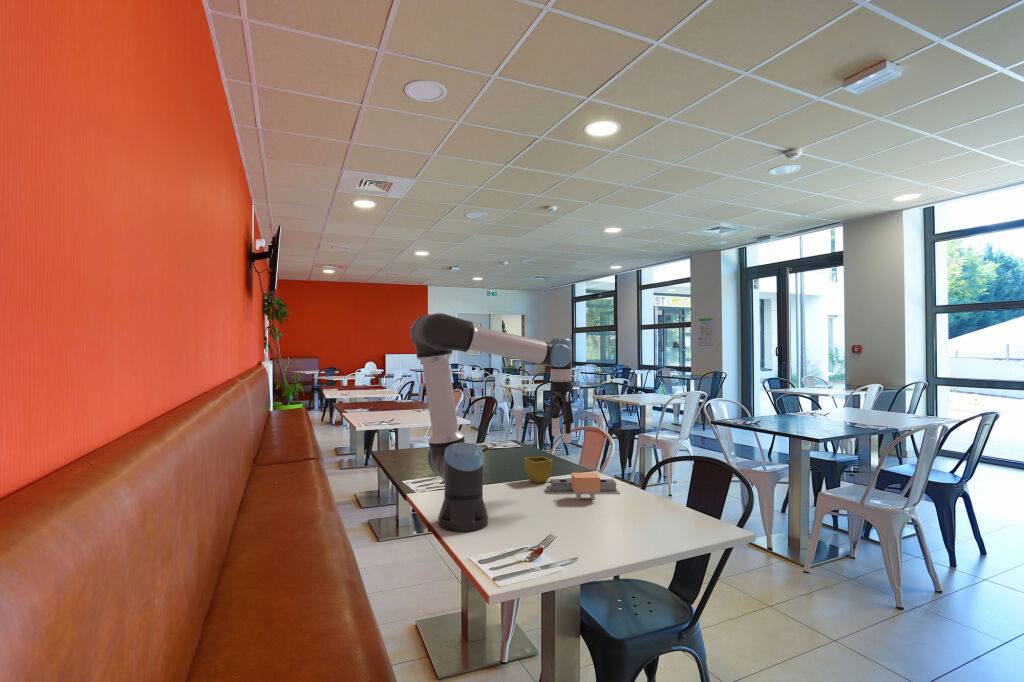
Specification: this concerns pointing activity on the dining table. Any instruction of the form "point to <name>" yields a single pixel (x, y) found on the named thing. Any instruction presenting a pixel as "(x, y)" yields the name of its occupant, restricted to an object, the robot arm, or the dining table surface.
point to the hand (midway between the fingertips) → (561, 439)
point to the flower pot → (538, 469)
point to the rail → (566, 488)
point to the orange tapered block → (585, 484)
